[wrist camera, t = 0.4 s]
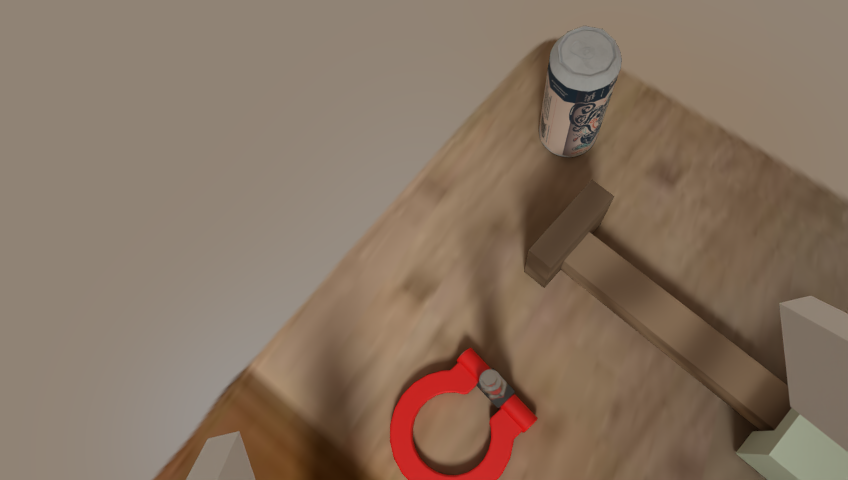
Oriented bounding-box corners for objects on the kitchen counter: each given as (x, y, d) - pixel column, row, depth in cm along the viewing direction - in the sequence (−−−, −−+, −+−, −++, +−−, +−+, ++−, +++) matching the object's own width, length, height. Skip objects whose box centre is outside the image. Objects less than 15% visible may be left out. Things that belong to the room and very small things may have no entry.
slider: (892, 436, 44) (948, 435, 39) (825, 528, 43) (873, 540, 38) (801, 367, 46) (843, 357, 41) (735, 453, 45) (768, 454, 40)
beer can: (577, 169, 53) (601, 95, 41) (527, 142, 54) (537, 62, 43) (607, 124, 54) (638, 39, 42) (557, 98, 55) (574, 9, 44)
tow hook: (449, 525, 46) (548, 428, 47) (422, 567, 33) (560, 430, 34) (368, 428, 49) (463, 338, 50) (313, 431, 36) (443, 307, 36)
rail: (892, 446, 44) (951, 447, 39) (834, 527, 43) (886, 539, 38) (580, 208, 52) (591, 179, 46) (524, 271, 51) (528, 250, 45)
